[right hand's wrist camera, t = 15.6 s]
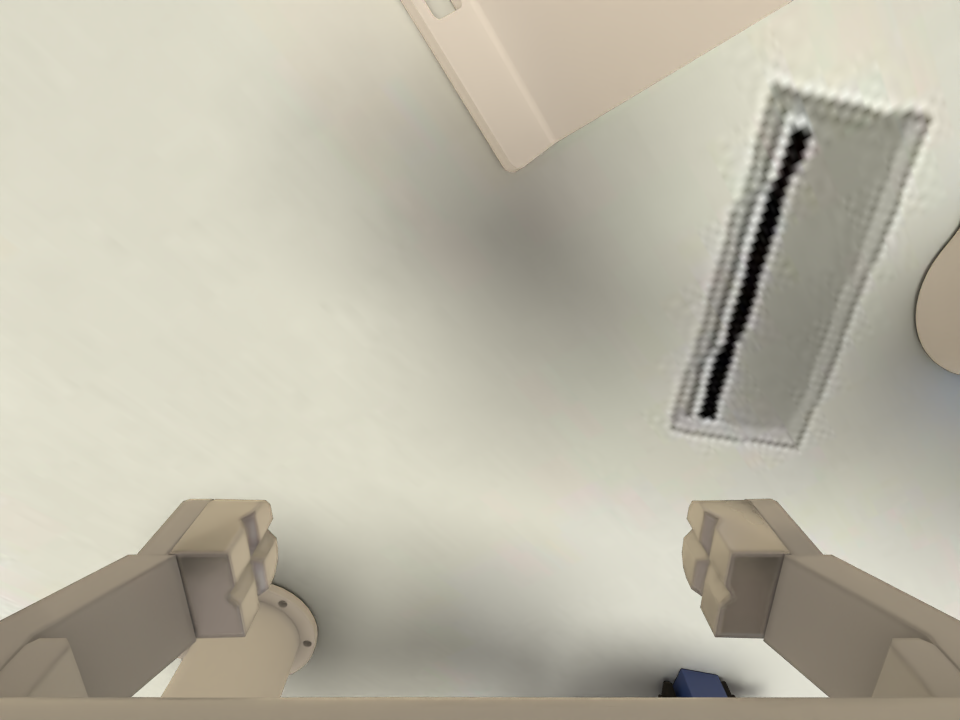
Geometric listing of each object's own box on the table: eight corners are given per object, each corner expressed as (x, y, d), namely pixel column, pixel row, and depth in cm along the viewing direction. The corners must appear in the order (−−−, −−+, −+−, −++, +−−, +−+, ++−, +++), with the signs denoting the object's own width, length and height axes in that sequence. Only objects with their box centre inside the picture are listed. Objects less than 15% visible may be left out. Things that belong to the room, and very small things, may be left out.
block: (665, 699, 59) (677, 736, 55) (681, 668, 58) (695, 704, 54) (701, 705, 60) (716, 742, 56) (717, 674, 58) (734, 711, 54)
